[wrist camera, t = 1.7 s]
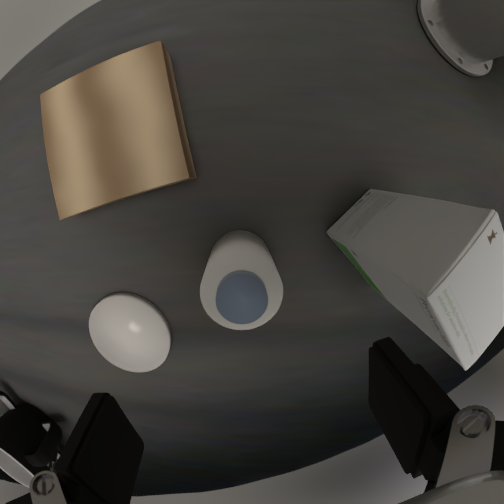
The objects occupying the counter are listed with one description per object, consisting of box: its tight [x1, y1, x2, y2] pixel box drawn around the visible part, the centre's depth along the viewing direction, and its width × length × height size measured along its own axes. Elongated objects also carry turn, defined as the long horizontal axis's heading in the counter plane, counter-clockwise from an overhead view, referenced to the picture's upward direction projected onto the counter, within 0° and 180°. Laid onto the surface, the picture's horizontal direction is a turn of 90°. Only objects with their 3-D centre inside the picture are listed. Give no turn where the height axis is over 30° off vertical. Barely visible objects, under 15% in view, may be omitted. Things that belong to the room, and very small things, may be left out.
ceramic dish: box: [89, 292, 172, 372], centre depth 27 cm, size 9×9×1 cm
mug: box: [0, 391, 62, 488], centre depth 26 cm, size 16×16×12 cm
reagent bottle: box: [200, 230, 283, 330], centre depth 22 cm, size 5×5×9 cm
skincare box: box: [327, 189, 504, 370], centre depth 19 cm, size 8×7×16 cm
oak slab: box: [40, 41, 197, 220], centre depth 21 cm, size 12×12×4 cm
